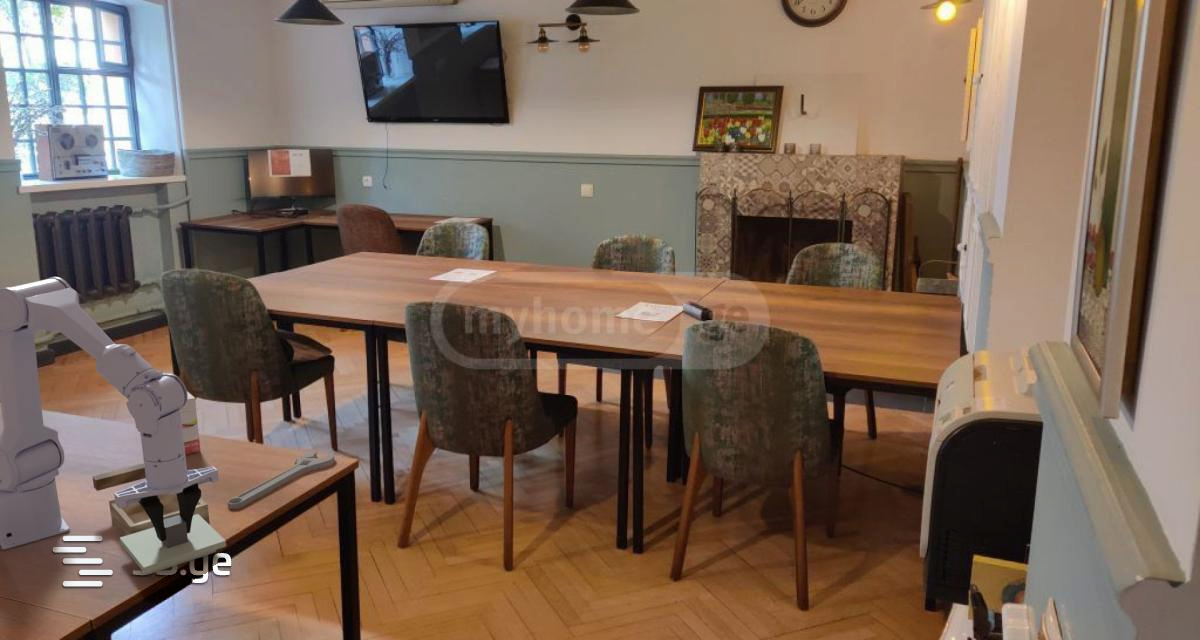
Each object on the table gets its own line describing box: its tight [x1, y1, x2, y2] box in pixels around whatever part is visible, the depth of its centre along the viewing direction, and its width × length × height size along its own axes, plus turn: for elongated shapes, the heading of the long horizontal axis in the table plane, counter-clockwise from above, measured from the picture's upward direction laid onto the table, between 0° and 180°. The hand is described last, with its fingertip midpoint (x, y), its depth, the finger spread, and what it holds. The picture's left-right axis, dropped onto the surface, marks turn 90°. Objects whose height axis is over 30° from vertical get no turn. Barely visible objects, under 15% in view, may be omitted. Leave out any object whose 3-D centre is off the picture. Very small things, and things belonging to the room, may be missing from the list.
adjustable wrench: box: [227, 451, 335, 510], centre depth 165 cm, size 25×6×2 cm, turn 151°
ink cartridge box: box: [177, 391, 201, 456], centre depth 177 cm, size 9×5×15 cm, turn 42°
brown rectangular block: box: [92, 462, 146, 492], centre depth 153 cm, size 14×2×2 cm, turn 133°
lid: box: [119, 514, 227, 574], centre depth 137 cm, size 12×12×6 cm
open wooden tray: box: [108, 494, 211, 537], centre depth 148 cm, size 12×12×4 cm
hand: (173, 534), depth 136 cm, fingers closed on lid, 3 cm apart
